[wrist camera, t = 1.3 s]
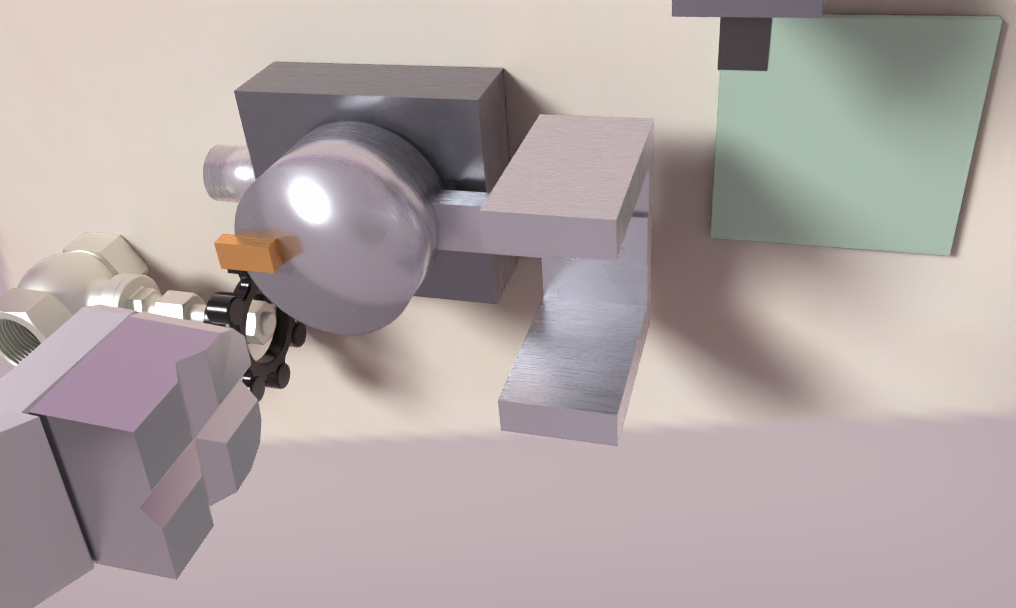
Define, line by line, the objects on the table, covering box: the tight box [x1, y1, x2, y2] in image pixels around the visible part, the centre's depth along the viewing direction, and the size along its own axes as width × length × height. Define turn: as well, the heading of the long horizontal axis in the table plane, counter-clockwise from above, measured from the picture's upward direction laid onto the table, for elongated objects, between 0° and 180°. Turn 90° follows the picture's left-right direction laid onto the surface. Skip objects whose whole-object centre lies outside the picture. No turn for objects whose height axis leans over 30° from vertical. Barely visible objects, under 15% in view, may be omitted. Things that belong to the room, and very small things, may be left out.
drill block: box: [203, 62, 518, 304], centre depth 35 cm, size 12×8×3 cm
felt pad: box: [710, 14, 1003, 256], centre depth 30 cm, size 8×8×1 cm
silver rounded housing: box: [214, 114, 654, 446], centre depth 30 cm, size 14×8×7 cm, turn 94°
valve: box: [0, 232, 306, 402], centre depth 40 cm, size 7×7×12 cm
